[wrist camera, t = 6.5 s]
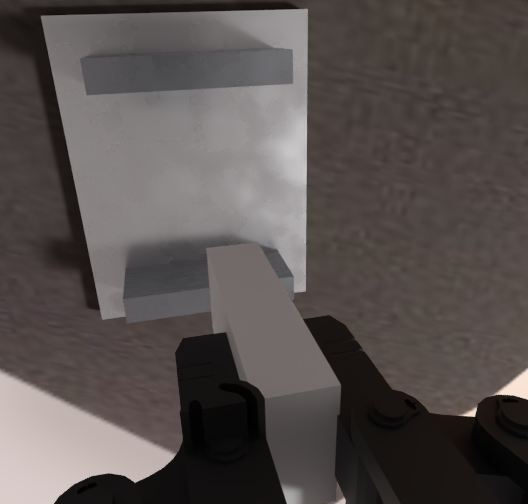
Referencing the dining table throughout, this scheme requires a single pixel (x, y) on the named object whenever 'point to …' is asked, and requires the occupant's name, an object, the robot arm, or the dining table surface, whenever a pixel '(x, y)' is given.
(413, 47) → the dining table surface
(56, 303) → the dining table surface
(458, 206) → the dining table surface
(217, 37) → the chuck plate
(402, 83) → the dining table surface
